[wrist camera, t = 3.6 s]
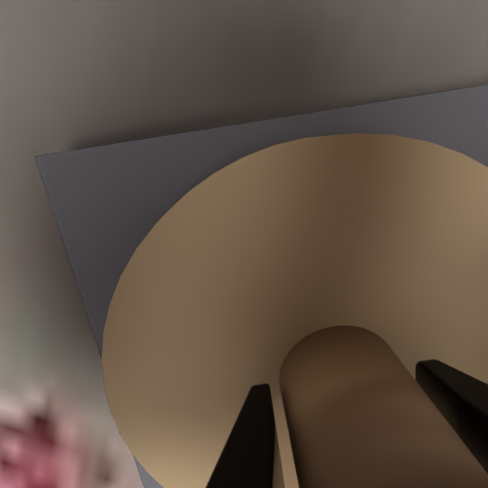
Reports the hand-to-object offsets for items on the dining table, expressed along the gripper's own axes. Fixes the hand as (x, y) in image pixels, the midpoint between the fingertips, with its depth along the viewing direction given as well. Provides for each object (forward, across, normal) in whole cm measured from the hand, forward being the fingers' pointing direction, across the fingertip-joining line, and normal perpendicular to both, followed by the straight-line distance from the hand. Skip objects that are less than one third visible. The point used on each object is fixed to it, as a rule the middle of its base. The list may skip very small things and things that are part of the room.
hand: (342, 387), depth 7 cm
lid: (+2, 0, 0) cm, 2 cm away
